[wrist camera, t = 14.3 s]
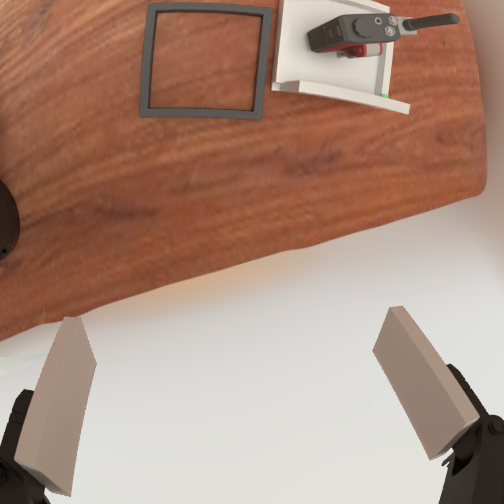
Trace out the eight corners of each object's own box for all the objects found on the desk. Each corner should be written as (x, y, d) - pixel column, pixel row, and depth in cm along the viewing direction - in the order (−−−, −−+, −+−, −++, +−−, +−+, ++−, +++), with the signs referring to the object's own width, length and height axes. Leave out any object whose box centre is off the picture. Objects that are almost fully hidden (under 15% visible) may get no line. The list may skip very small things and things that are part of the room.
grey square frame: (141, 115, 36) (139, 116, 35) (150, 6, 29) (148, 3, 28) (259, 119, 39) (261, 120, 37) (270, 10, 32) (272, 8, 30)
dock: (270, 90, 37) (288, 90, 28) (280, -14, 30) (301, -40, 21) (375, 107, 39) (415, 116, 30) (385, 12, 32) (425, 1, 23)
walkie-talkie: (362, 27, 32) (462, 4, 15) (369, 57, 35) (473, 53, 17) (300, 33, 33) (376, -4, 15) (309, 65, 35) (391, 52, 17)
